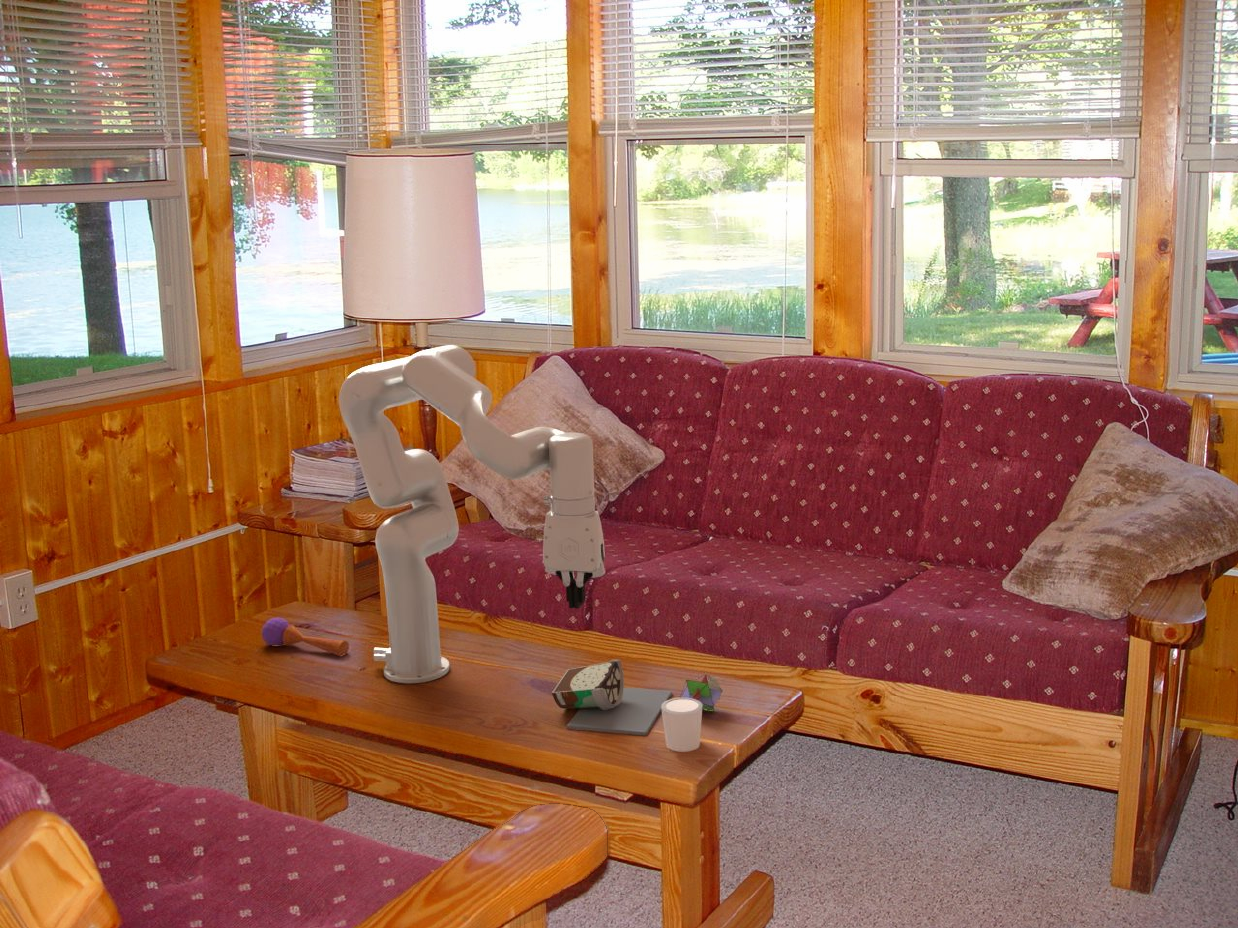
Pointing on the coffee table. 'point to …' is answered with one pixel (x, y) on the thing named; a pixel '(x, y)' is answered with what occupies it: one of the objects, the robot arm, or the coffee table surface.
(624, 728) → the mat
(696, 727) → the shot glass
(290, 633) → the kendama
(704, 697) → the geometric puzzle
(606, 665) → the food container
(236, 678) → the coffee table surface
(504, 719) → the coffee table surface
